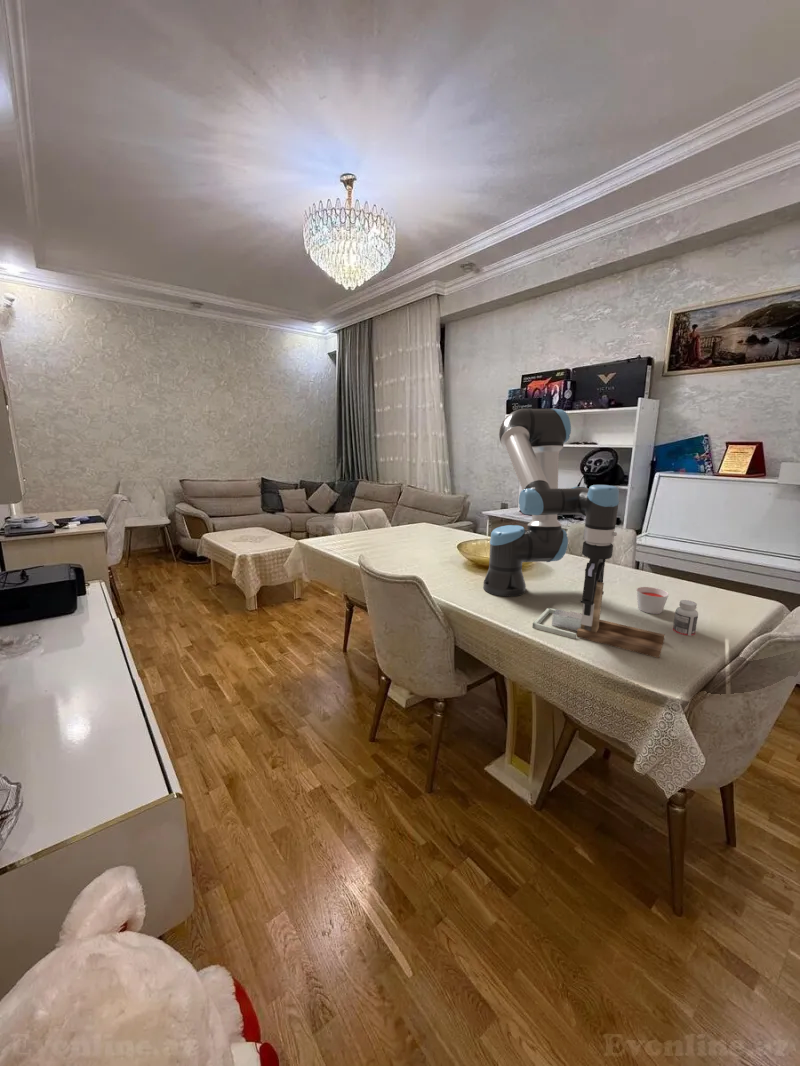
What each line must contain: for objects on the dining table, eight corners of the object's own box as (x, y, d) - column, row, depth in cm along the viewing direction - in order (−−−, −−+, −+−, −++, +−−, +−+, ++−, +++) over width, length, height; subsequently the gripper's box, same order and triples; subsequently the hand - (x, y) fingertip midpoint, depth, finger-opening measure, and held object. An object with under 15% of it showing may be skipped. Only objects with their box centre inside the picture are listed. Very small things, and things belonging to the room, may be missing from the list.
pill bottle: (685, 629, 126) (690, 598, 124) (699, 638, 121) (704, 606, 119) (668, 630, 126) (672, 599, 124) (680, 638, 121) (685, 606, 118)
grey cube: (551, 626, 127) (552, 613, 126) (555, 621, 131) (556, 609, 130) (565, 629, 125) (566, 616, 124) (569, 624, 128) (570, 612, 127)
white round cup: (657, 604, 144) (659, 587, 143) (671, 616, 136) (674, 597, 134) (629, 604, 145) (631, 586, 143) (642, 615, 136) (644, 596, 135)
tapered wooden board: (579, 632, 122) (583, 585, 118) (585, 623, 127) (589, 578, 124) (594, 636, 119) (599, 588, 116) (599, 626, 125) (604, 581, 122)
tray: (532, 630, 126) (532, 623, 125) (547, 614, 137) (547, 607, 136) (574, 642, 119) (575, 634, 119) (587, 624, 130) (587, 616, 130)
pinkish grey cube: (565, 628, 125) (566, 615, 124) (569, 623, 128) (570, 611, 127) (580, 632, 123) (581, 619, 122) (583, 626, 126) (584, 614, 125)
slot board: (576, 639, 120) (577, 630, 120) (585, 625, 129) (586, 616, 128) (658, 661, 109) (660, 651, 108) (663, 644, 117) (664, 634, 117)
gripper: (605, 553, 107) (596, 637, 113) (619, 536, 123) (610, 611, 128) (574, 548, 111) (566, 629, 117) (591, 533, 127) (584, 605, 133)
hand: (589, 619), depth 123 cm, fingers closed on tapered wooden board, 7 cm apart
